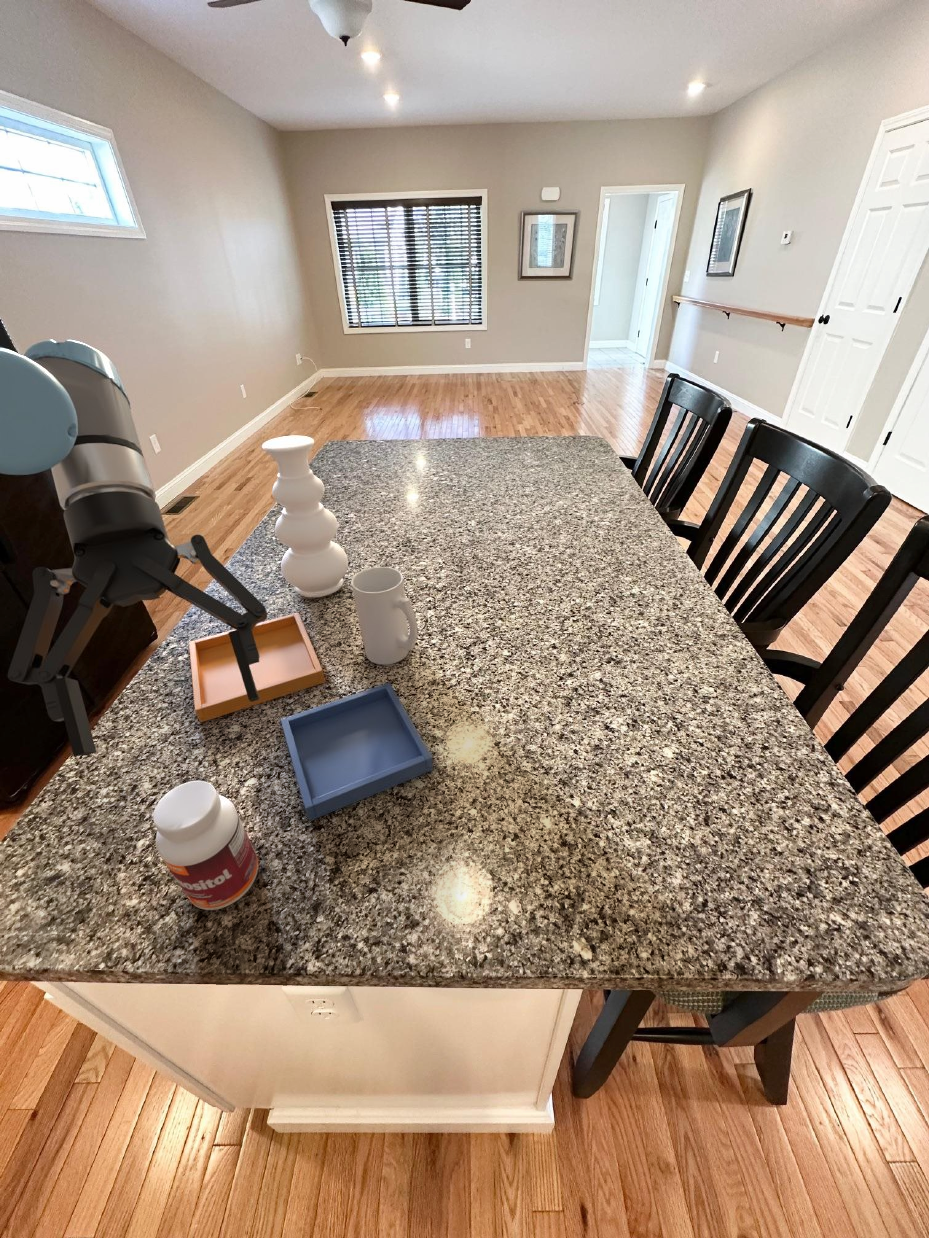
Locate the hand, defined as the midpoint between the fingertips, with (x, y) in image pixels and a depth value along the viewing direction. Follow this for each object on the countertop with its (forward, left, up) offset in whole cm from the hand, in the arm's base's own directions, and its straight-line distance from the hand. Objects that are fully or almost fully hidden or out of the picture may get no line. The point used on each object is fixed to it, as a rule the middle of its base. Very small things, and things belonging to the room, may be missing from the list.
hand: (174, 725), depth 45 cm
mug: (+25, +15, -13) cm, 32 cm away
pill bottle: (0, -8, -13) cm, 15 cm away
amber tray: (+7, +22, -13) cm, 27 cm away
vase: (+20, +39, -13) cm, 46 cm away
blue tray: (+15, +1, -13) cm, 20 cm away
